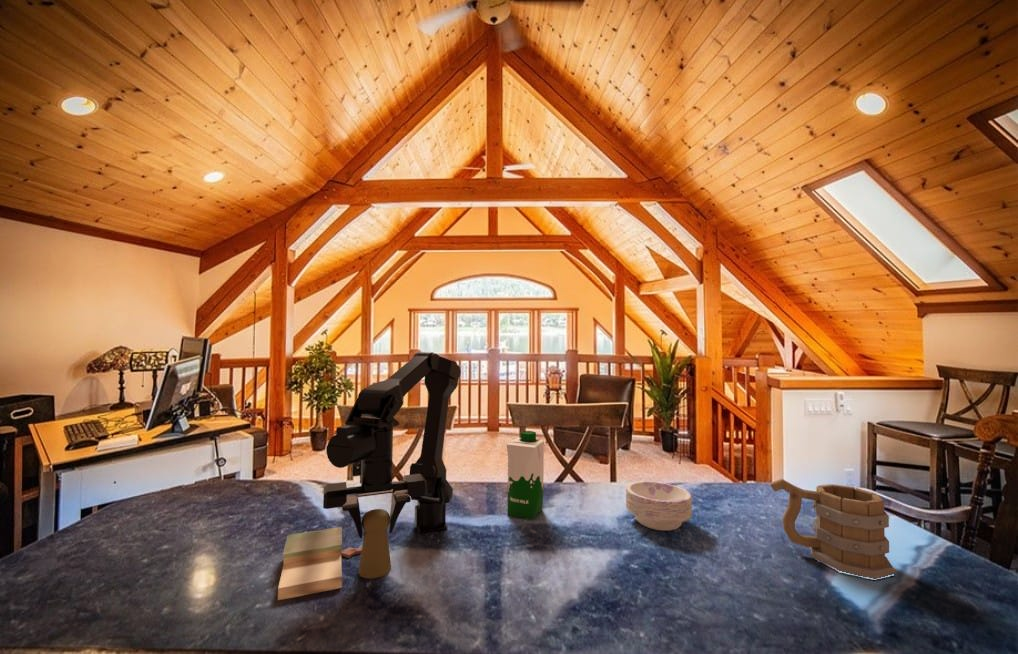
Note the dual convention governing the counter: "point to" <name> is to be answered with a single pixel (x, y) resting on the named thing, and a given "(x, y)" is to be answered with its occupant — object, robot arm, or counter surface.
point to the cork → (375, 545)
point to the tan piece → (313, 563)
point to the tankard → (842, 528)
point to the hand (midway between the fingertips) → (375, 535)
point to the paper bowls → (659, 504)
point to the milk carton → (525, 475)
